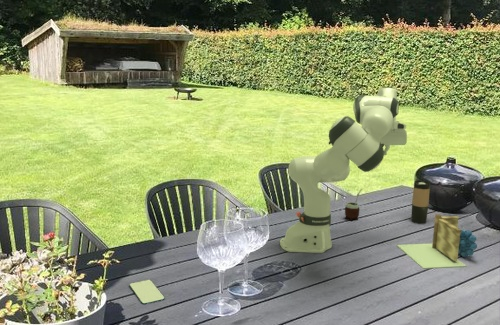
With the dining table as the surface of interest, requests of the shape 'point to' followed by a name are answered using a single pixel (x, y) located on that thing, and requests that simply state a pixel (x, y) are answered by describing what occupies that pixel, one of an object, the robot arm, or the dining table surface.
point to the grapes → (467, 243)
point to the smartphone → (146, 291)
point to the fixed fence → (450, 219)
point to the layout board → (429, 256)
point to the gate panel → (448, 239)
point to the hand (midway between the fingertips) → (382, 155)
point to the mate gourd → (352, 210)
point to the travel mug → (420, 202)
